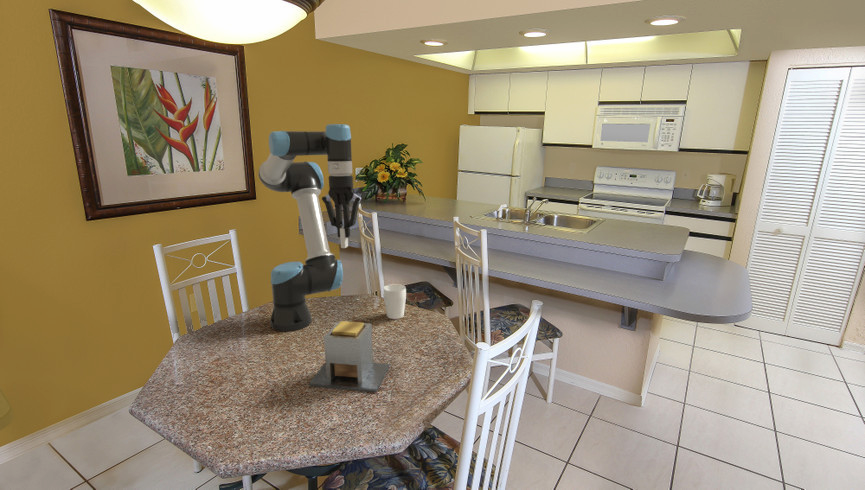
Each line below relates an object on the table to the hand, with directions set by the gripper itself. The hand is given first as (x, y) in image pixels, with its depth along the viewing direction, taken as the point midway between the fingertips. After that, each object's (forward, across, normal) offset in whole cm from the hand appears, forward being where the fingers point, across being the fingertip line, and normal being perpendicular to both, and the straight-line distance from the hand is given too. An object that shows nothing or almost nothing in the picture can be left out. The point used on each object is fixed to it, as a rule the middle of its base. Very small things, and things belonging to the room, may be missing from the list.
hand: (344, 246), depth 141 cm
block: (+32, +8, -21) cm, 39 cm away
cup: (+35, +10, +25) cm, 44 cm away
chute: (+34, +8, -21) cm, 41 cm away
